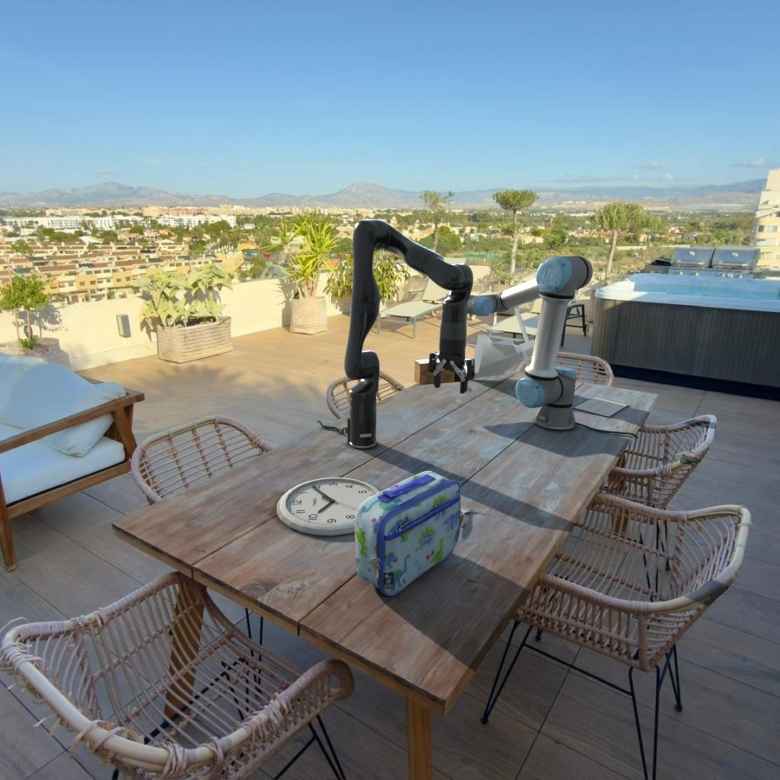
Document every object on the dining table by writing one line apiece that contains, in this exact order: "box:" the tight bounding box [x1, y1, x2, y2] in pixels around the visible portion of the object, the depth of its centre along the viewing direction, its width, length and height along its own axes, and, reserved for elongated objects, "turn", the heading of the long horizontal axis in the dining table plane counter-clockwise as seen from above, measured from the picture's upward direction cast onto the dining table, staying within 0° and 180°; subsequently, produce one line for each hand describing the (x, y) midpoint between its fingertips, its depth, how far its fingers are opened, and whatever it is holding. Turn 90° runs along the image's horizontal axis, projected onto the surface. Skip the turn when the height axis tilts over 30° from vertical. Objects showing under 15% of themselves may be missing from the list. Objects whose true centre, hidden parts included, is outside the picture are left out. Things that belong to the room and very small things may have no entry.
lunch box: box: [354, 470, 462, 597], centre depth 113 cm, size 26×11×21 cm, turn 134°
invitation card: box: [573, 396, 629, 418], centre depth 226 cm, size 21×1×15 cm
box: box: [413, 358, 461, 386], centre depth 221 cm, size 20×6×9 cm, turn 108°
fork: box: [460, 497, 473, 526], centre depth 137 cm, size 3×16×2 cm, turn 160°
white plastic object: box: [464, 307, 535, 379], centre depth 256 cm, size 37×45×31 cm
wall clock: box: [276, 476, 382, 537], centre depth 142 cm, size 30×2×30 cm
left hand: (450, 390), depth 154 cm, fingers open, 8 cm apart
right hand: (454, 378), depth 225 cm, fingers closed on box, 6 cm apart
